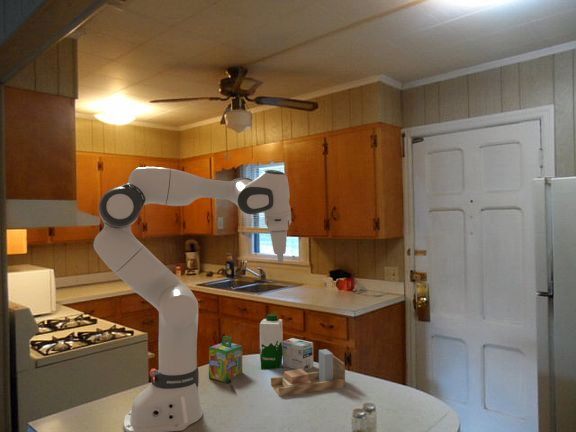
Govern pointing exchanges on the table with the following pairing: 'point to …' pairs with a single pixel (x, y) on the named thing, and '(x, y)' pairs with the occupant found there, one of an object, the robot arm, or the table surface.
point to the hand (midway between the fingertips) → (280, 257)
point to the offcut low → (286, 384)
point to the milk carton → (271, 342)
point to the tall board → (325, 365)
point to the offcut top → (296, 376)
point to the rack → (313, 381)
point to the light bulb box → (297, 354)
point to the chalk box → (225, 360)
